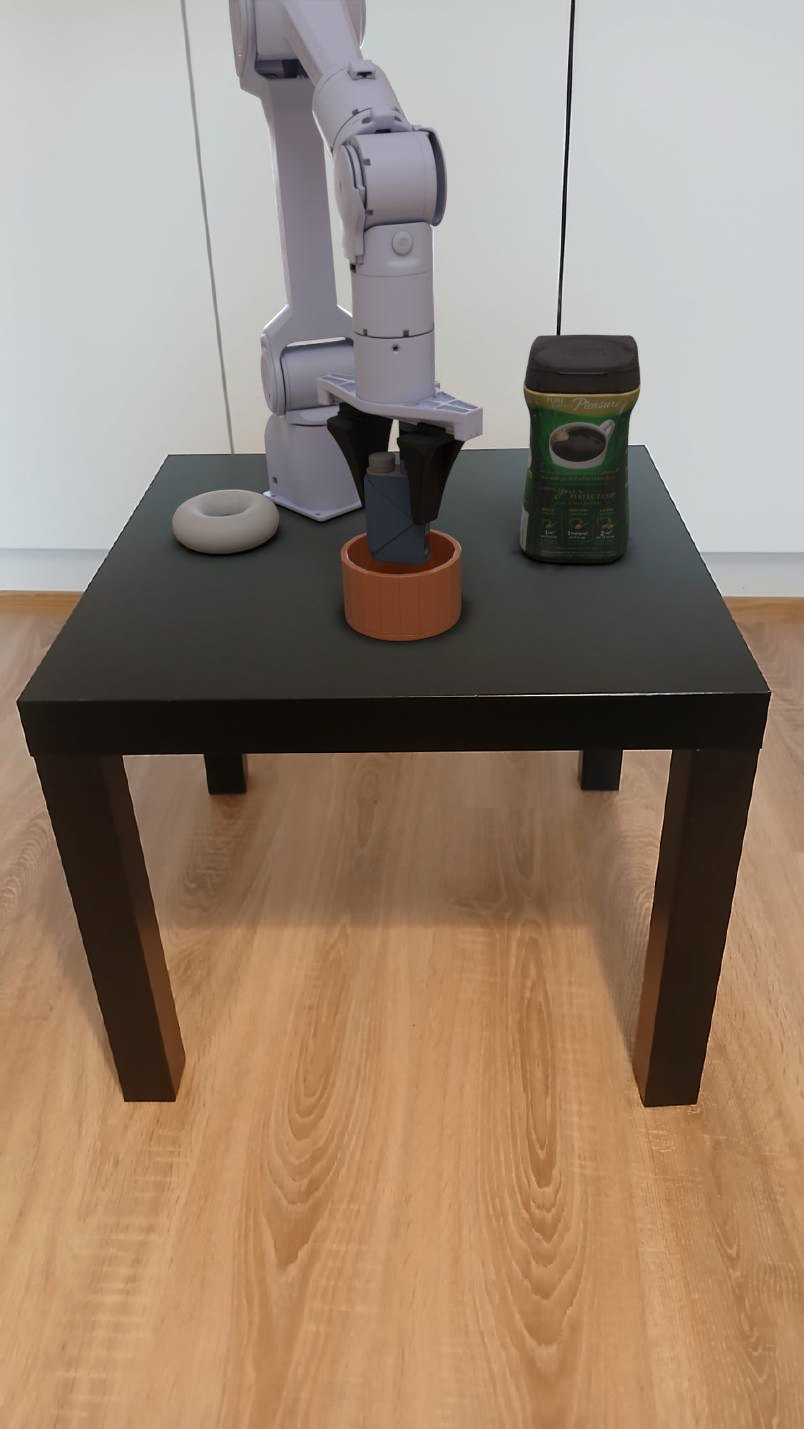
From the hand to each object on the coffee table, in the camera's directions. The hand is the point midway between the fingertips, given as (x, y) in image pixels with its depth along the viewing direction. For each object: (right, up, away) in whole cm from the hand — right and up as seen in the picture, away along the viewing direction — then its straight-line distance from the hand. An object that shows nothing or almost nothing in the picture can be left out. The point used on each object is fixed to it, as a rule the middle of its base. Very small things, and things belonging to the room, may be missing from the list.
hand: (399, 512), depth 81 cm
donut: (-16, +1, +19) cm, 25 cm away
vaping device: (0, -3, +2) cm, 4 cm away
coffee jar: (+16, -1, +14) cm, 21 cm away
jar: (0, -7, +5) cm, 9 cm away
